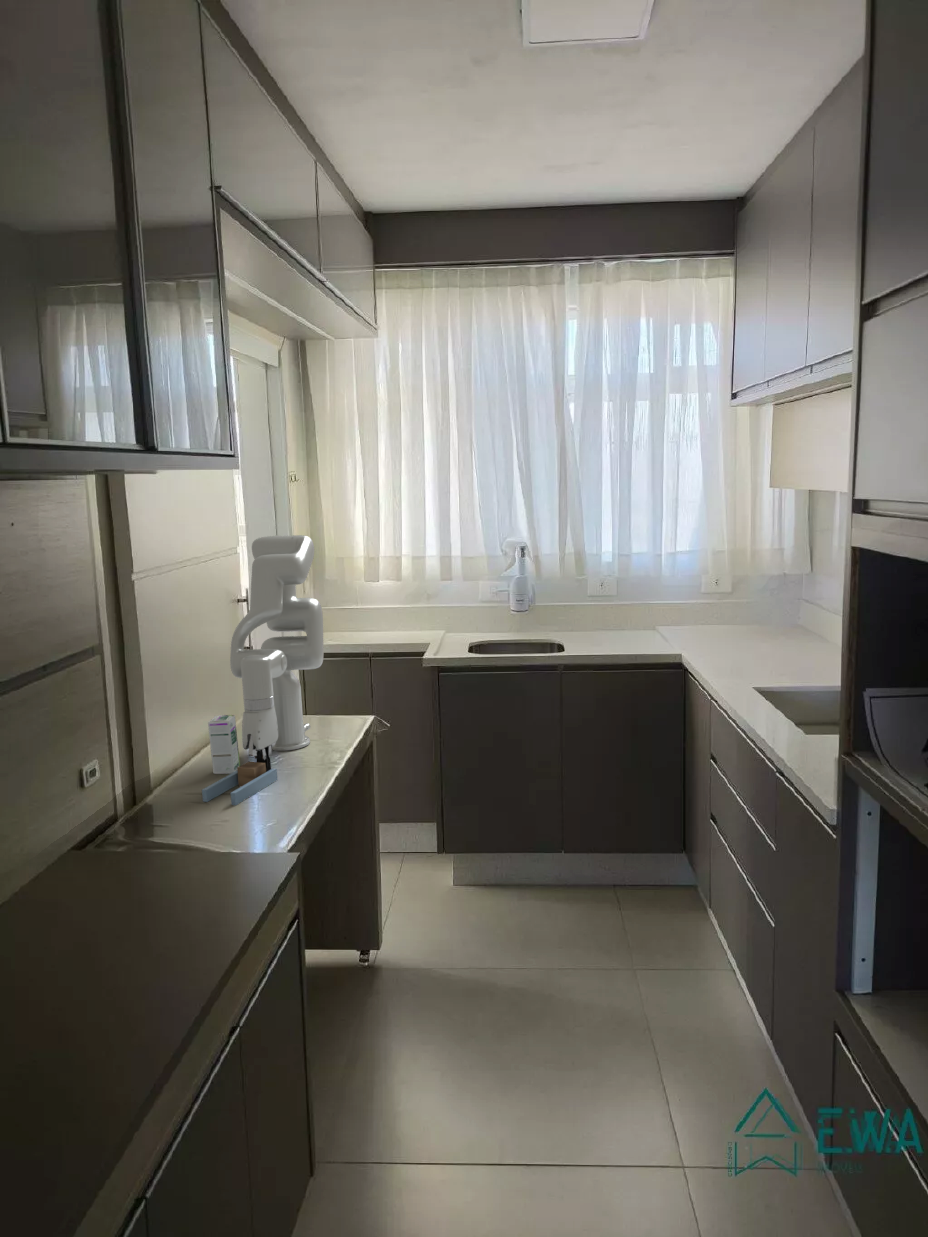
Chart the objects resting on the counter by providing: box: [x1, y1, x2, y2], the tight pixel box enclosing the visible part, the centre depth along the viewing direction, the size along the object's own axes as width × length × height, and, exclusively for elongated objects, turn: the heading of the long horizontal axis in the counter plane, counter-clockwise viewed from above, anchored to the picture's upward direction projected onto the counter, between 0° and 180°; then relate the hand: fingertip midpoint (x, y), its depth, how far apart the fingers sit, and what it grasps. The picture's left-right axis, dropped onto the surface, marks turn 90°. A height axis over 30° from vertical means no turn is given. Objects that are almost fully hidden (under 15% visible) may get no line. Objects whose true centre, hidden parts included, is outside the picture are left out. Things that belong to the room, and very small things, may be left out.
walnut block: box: [236, 760, 266, 788], centre depth 227 cm, size 5×5×5 cm
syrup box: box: [207, 714, 241, 775], centre depth 237 cm, size 6×6×14 cm
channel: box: [201, 768, 278, 806], centre depth 222 cm, size 18×9×3 cm, turn 159°
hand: (264, 772), depth 232 cm, fingers closed
